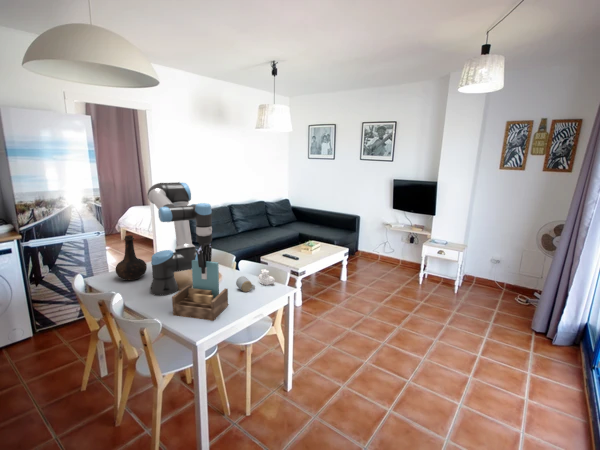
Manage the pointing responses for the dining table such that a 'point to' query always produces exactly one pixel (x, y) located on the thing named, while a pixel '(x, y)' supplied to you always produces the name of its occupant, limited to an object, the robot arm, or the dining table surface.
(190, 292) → the oak offcut middle
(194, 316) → the walnut rack
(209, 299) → the oak offcut front
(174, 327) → the dining table surface
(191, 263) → the robot arm
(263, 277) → the white lumpy piece
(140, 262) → the glass bottle
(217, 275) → the teal sheet
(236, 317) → the dining table surface
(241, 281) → the ceramic mug
